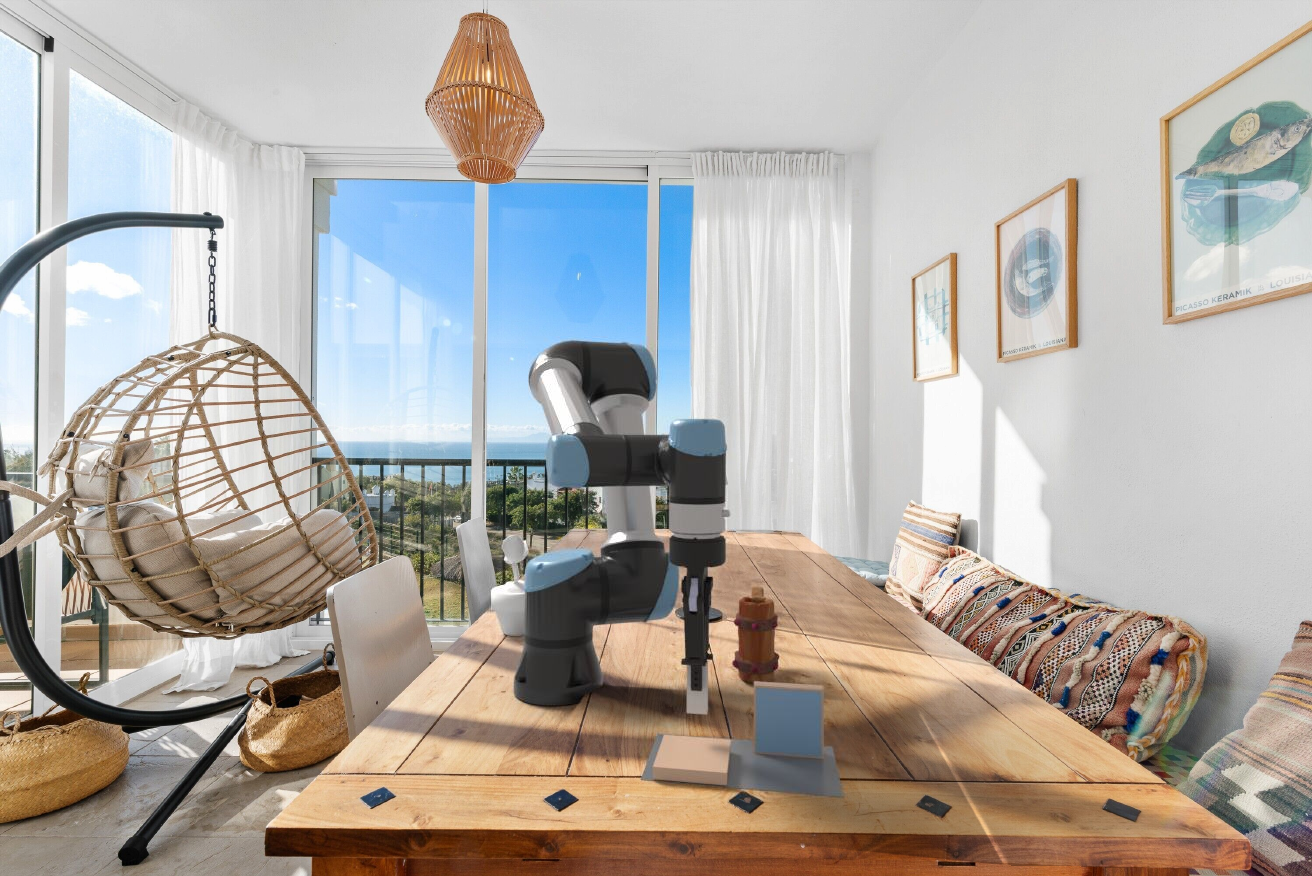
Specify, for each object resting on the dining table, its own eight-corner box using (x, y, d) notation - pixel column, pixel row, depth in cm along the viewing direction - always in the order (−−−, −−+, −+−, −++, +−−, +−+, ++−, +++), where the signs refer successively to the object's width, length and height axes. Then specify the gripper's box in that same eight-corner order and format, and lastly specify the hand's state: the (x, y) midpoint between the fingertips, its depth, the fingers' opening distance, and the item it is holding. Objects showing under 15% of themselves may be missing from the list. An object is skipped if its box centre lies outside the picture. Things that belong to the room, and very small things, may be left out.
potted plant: (534, 641, 141) (534, 523, 141) (482, 639, 143) (482, 522, 143) (552, 625, 153) (553, 517, 154) (504, 623, 155) (505, 516, 155)
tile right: (753, 753, 88) (753, 685, 88) (754, 748, 90) (754, 681, 90) (823, 759, 86) (823, 689, 86) (822, 753, 88) (822, 685, 88)
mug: (778, 690, 114) (778, 602, 114) (730, 686, 115) (731, 599, 116) (780, 662, 128) (780, 584, 128) (737, 659, 130) (737, 582, 130)
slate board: (640, 789, 81) (640, 779, 81) (657, 742, 94) (657, 733, 94) (843, 807, 77) (843, 797, 77) (832, 755, 90) (832, 746, 90)
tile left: (663, 747, 90) (652, 780, 81) (664, 734, 90) (652, 766, 81) (730, 752, 88) (727, 786, 79) (730, 739, 88) (726, 773, 79)
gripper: (722, 542, 82) (722, 734, 82) (728, 528, 95) (728, 695, 94) (662, 540, 83) (662, 730, 83) (676, 527, 96) (675, 692, 96)
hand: (697, 711), depth 89 cm, fingers closed
